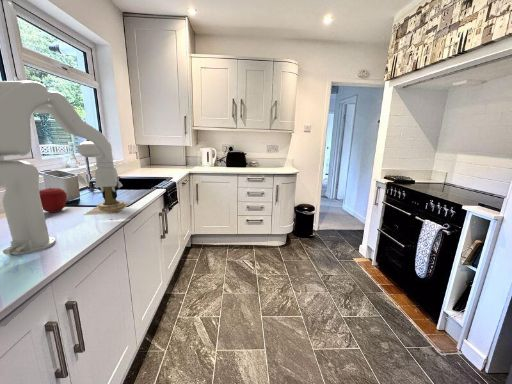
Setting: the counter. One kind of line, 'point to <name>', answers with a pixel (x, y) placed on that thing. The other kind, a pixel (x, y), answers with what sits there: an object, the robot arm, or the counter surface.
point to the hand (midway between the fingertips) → (110, 198)
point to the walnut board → (113, 211)
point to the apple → (53, 199)
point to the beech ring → (110, 207)
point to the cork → (109, 196)
